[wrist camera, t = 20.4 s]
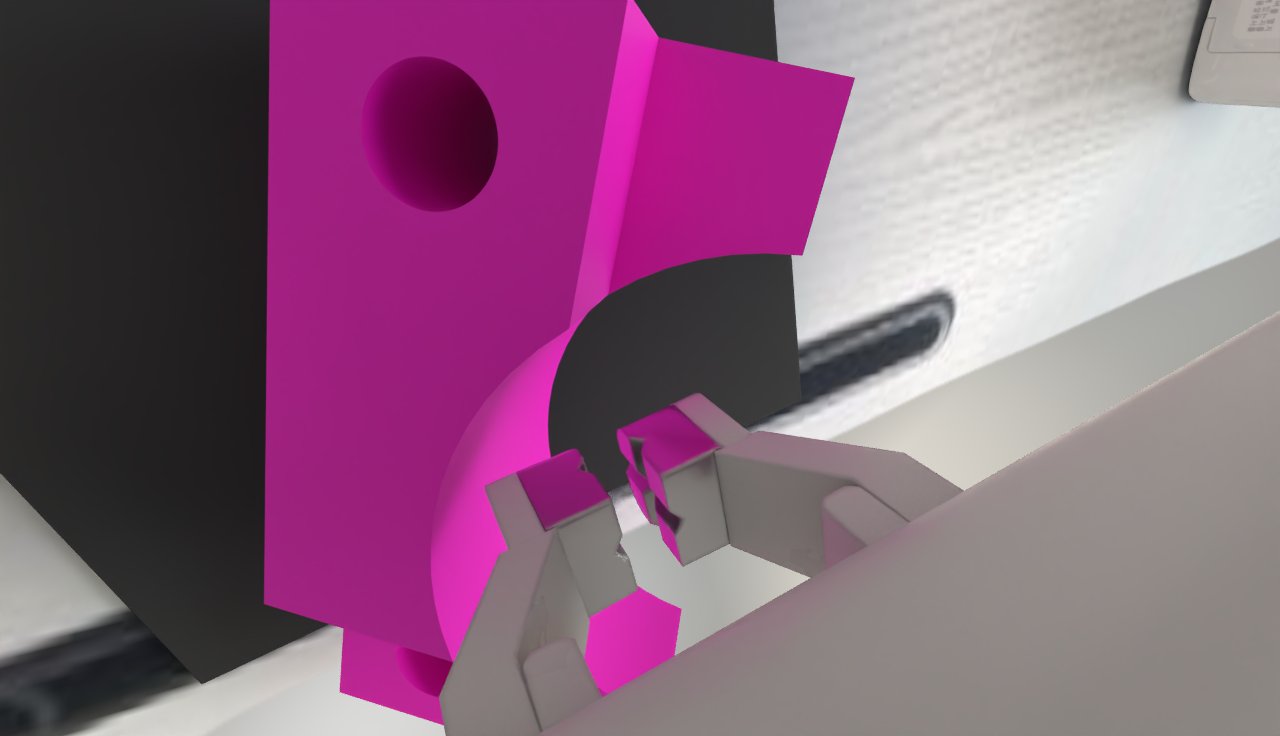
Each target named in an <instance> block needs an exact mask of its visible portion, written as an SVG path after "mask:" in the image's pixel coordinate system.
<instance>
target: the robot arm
mask: <svg viewBox="0 0 1280 736" xmlns="http://www.w3.org/2000/svg"><path fill="white" fill-rule="evenodd" d="M617 439H618V443H619V447H620V451H621V452H622V454H623V455H624V456H625V457H626V459H627V460H628V461H629V462H630V464H629V467H628V469H627V472H626V473H627V477H628V480H629V483H630V487H631V489H632V492H633V494H634V497H635V499H636V501H637V504H638V505H639V507H640V509H641V510H642V512H643V514H644V515H645V517H646V518H647V519H648V521H649V522H650V524H654V525H658V526H659V527H660V531H661V534H662V538H663V541H664V542H665V544H666V545H667V546H668V548H669V549H670V550H671V552H672V553H673V554H674V555H675V557H676V558H677V559H678V561H679V562H680V563H681V565H682V566H685V565H687V564H689V563H691V562H694V561H695V560H697V559H699V558H702V557H703V556H706V555H708V554H710V553H712V552H714V551H716V550H718V549H720V548H722V547H724V546H726V545H728V544H731V546H732V547H735V548H738V549H740V550H743V551H745V552H748V553H750V554H753V555H755V556H758V557H760V558H763V559H765V560H768V561H770V562H773V563H775V564H778V565H780V566H783V567H785V568H788V569H790V570H793V571H796V572H798V573H800V574H803V575H805V576H808V577H810V578H811V579H808V580H807V581H805V582H803V583H802V584H800V585H798V586H796V587H794V588H793V589H791V590H789V591H787V592H786V593H784V594H782V595H780V596H779V597H777V598H775V599H773V600H772V601H770V602H768V603H767V604H765V605H763V606H761V607H760V608H758V609H756V610H754V611H752V612H751V613H749V614H747V615H745V616H744V617H742V618H740V619H738V620H737V621H735V622H733V623H731V624H730V625H728V626H727V627H724V628H723V629H721V630H719V631H717V632H716V633H714V634H713V635H711V636H709V637H707V638H705V639H704V640H702V641H700V642H698V643H697V644H695V645H693V646H692V647H690V648H688V649H686V650H684V651H682V652H681V653H679V654H677V655H676V656H674V657H672V658H670V659H668V660H667V661H665V662H663V663H661V664H660V665H658V666H656V667H654V668H653V669H651V670H649V671H647V672H646V673H644V674H642V675H640V676H639V677H637V678H635V679H633V680H632V681H630V682H628V683H626V684H625V685H623V686H621V687H619V688H618V689H616V690H614V691H612V692H611V693H609V694H607V695H605V696H604V697H602V696H601V694H600V691H599V689H598V687H597V685H596V683H595V681H594V679H593V676H592V674H591V672H590V670H589V668H588V666H587V664H586V662H585V659H584V658H585V651H586V644H587V637H588V631H589V624H590V620H589V618H590V617H591V616H593V615H595V614H597V613H598V612H600V611H602V610H604V609H606V608H607V607H609V606H611V605H613V604H614V603H616V602H618V601H620V600H622V599H623V598H625V597H627V596H629V595H630V594H632V593H634V592H636V591H638V588H637V584H636V580H635V577H634V573H633V570H632V566H631V563H630V560H629V557H628V556H627V554H626V552H625V551H624V549H623V548H622V546H621V545H620V540H621V538H622V532H621V528H620V525H619V522H618V519H617V515H616V512H615V509H614V506H613V502H612V499H611V498H610V496H609V495H608V493H607V492H606V490H605V489H604V487H603V486H602V484H601V483H600V481H599V480H598V479H597V477H596V476H595V474H593V473H588V471H587V468H586V465H585V462H584V459H583V457H582V455H581V454H580V453H579V451H578V450H577V449H576V448H572V449H570V450H567V451H565V452H563V453H560V454H558V455H555V456H553V457H551V458H548V459H546V460H543V461H541V462H538V463H536V464H534V465H531V466H529V467H526V468H524V469H522V470H519V471H517V472H516V474H515V473H512V474H509V475H507V476H505V477H503V478H500V479H498V480H496V481H494V482H491V483H489V484H487V485H485V486H484V487H485V492H486V495H487V497H488V500H489V502H490V505H491V507H492V510H493V513H494V515H495V518H496V520H497V523H498V525H499V528H500V530H501V533H502V535H503V538H504V540H505V543H506V545H507V548H508V550H506V551H504V552H502V553H500V554H499V555H498V558H497V560H496V563H495V565H494V567H493V570H492V572H491V574H490V577H489V579H488V582H487V584H486V586H485V589H484V591H483V593H482V596H481V598H480V601H479V603H478V605H477V608H476V610H475V612H474V615H473V617H472V620H471V622H470V624H469V627H468V629H467V632H466V634H465V636H464V639H463V641H462V643H461V646H460V648H459V651H458V653H457V655H456V658H455V660H454V662H453V665H452V667H451V670H450V672H449V674H448V677H447V679H446V681H445V684H444V686H443V689H442V691H441V693H440V696H439V700H440V705H441V711H442V717H443V722H444V728H445V733H446V736H1280V311H1278V312H1277V313H1275V314H1273V315H1271V316H1270V317H1268V318H1266V319H1264V320H1263V321H1261V322H1259V323H1257V324H1256V325H1254V326H1252V327H1251V328H1249V329H1247V330H1245V331H1243V332H1242V333H1240V334H1238V335H1236V336H1235V337H1233V338H1231V339H1229V340H1228V341H1226V342H1224V343H1222V344H1221V345H1219V346H1217V347H1215V348H1214V349H1212V350H1210V351H1208V352H1207V353H1205V354H1203V355H1202V356H1200V357H1198V358H1196V359H1194V360H1193V361H1191V362H1189V363H1187V364H1186V365H1184V366H1182V367H1180V368H1179V369H1177V370H1175V371H1173V372H1172V373H1170V374H1168V375H1166V376H1164V377H1163V378H1161V379H1159V380H1158V381H1156V382H1154V383H1152V384H1150V385H1149V386H1147V387H1145V388H1143V389H1142V390H1140V391H1138V392H1137V393H1135V394H1133V395H1131V396H1129V397H1128V398H1126V399H1124V400H1123V401H1121V402H1119V403H1117V404H1116V405H1114V406H1112V407H1110V408H1108V409H1107V410H1105V411H1103V412H1101V413H1100V414H1098V415H1096V416H1094V417H1093V418H1091V419H1089V420H1087V421H1086V422H1084V423H1082V424H1080V425H1079V426H1077V427H1075V428H1073V429H1072V430H1070V431H1068V432H1067V433H1065V434H1063V435H1061V436H1059V437H1058V438H1056V439H1054V440H1052V441H1051V442H1049V443H1047V444H1045V445H1044V446H1042V447H1040V448H1038V449H1037V450H1035V451H1033V452H1031V453H1030V454H1028V455H1026V456H1024V457H1023V458H1021V459H1019V460H1018V461H1016V462H1014V463H1012V464H1010V465H1009V466H1007V467H1006V468H1004V469H1002V470H1000V471H998V472H997V473H995V474H993V475H991V476H990V477H988V478H986V479H984V480H983V481H981V482H979V483H977V484H976V485H974V486H972V487H971V488H969V489H967V490H965V491H963V490H962V489H960V488H959V487H957V486H955V485H954V484H952V483H951V482H949V481H948V480H946V479H944V478H943V477H941V476H940V475H938V474H937V473H935V472H933V471H932V470H930V469H929V468H927V467H926V466H924V465H922V464H921V463H919V462H918V461H916V460H914V459H913V458H911V457H910V456H908V455H907V454H905V453H902V452H895V451H888V450H882V449H875V448H869V447H863V446H856V445H849V444H843V443H836V442H830V441H823V440H817V439H810V438H804V437H797V436H791V435H784V434H778V433H771V432H765V431H758V432H756V433H753V434H751V433H750V432H748V431H747V430H746V429H745V428H743V427H742V426H741V425H740V424H738V423H737V422H736V421H735V420H733V419H732V418H731V417H730V416H728V415H727V414H726V413H725V412H723V411H722V410H721V409H720V408H718V407H717V406H716V405H715V404H713V403H712V402H711V401H710V400H708V399H707V398H706V397H705V396H703V395H702V394H701V393H694V394H692V395H690V396H687V397H685V398H683V399H681V400H679V401H677V402H675V403H673V404H671V405H670V406H668V407H666V408H664V409H661V410H659V411H657V412H655V413H653V414H650V415H648V416H646V417H644V418H642V419H639V420H637V421H635V422H633V423H631V424H629V425H626V426H624V427H622V428H620V429H618V430H617Z"/></svg>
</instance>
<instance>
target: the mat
mask: <svg viewBox="0 0 1280 736" xmlns="http://www.w3.org/2000/svg"><path fill="white" fill-rule="evenodd" d="M634 1H635V3H636V4H637V6H638V7H639V9H640V10H641V12H642V13H643V15H644V16H645V18H646V19H647V21H648V22H649V24H650V25H651V27H652V28H653V30H654V31H655V33H656V34H657V36H658V37H659V38H663V39H668V40H673V41H678V42H683V43H688V44H693V45H697V46H702V47H707V48H712V49H717V50H722V51H727V52H732V53H736V54H741V55H746V56H751V57H756V58H761V59H766V60H771V61H775V62H778V57H777V43H776V29H775V14H774V0H634ZM269 53H270V0H0V473H1V474H2V475H3V476H4V477H5V478H6V479H7V480H8V482H9V483H10V484H11V485H12V486H13V487H14V488H15V489H16V490H17V491H18V492H19V493H20V494H21V495H22V496H23V497H24V498H25V499H26V500H27V501H28V503H29V504H30V505H31V506H32V507H33V508H34V509H35V510H36V511H37V512H38V513H39V514H40V515H41V516H42V517H43V518H44V519H45V520H46V521H47V522H48V524H49V525H50V526H51V527H52V528H53V529H54V530H55V531H56V532H57V533H58V534H59V535H60V536H61V537H62V538H63V539H64V540H65V541H66V542H67V543H68V545H69V546H70V547H71V548H72V549H73V550H74V551H75V552H76V553H77V554H78V555H79V556H80V557H81V558H82V559H83V560H84V561H85V562H86V563H87V564H88V566H89V567H90V568H91V569H92V570H93V571H94V572H95V573H96V574H97V575H98V576H99V577H100V578H101V579H102V580H103V581H104V582H105V583H106V584H107V585H108V587H109V588H110V589H111V590H112V591H113V592H114V593H115V594H116V595H117V596H118V597H119V598H120V599H121V600H122V601H123V602H124V603H125V604H126V605H127V606H128V607H129V609H130V610H131V611H132V612H133V613H134V614H135V615H136V616H137V617H138V618H139V619H140V620H141V621H142V622H143V623H144V624H145V625H146V626H147V627H148V628H149V630H150V631H151V632H152V633H153V634H154V635H155V636H156V637H157V638H158V639H159V640H160V641H161V642H162V643H163V644H164V645H165V646H166V647H167V648H168V649H169V651H170V652H171V653H172V654H173V655H174V656H175V657H176V658H177V659H178V660H179V661H180V662H181V663H182V664H183V665H184V666H185V667H186V668H187V669H188V670H189V672H190V673H191V674H192V675H193V676H194V677H195V678H196V679H197V680H198V681H199V682H200V683H201V684H203V683H206V682H208V681H210V680H212V679H214V678H216V677H218V676H220V675H222V674H225V673H227V672H229V671H231V670H233V669H235V668H237V667H239V666H241V665H244V664H246V663H248V662H250V661H252V660H254V659H256V658H258V657H260V656H263V655H265V654H267V653H269V652H271V651H273V650H275V649H277V648H279V647H282V646H284V645H286V644H288V643H290V642H292V641H294V640H296V639H298V638H301V637H303V636H305V635H307V634H309V633H311V632H313V631H315V630H317V629H320V628H322V627H324V626H326V625H328V623H324V622H321V621H318V620H315V619H311V618H308V617H305V616H302V615H298V614H295V613H292V612H289V611H285V610H282V609H279V608H276V607H273V606H269V605H266V604H264V562H265V460H266V359H267V257H268V155H269ZM694 393H701V394H702V395H703V396H705V397H706V398H707V399H708V400H710V401H711V402H712V403H713V404H715V405H716V406H717V407H718V408H720V409H721V410H722V411H723V412H725V413H726V414H727V415H728V416H730V417H731V418H732V419H733V420H735V421H736V422H737V423H738V424H740V425H741V426H742V427H743V428H744V427H746V426H748V425H750V424H752V423H754V422H756V421H759V420H761V419H763V418H765V417H767V416H769V415H771V414H773V413H775V412H778V411H780V410H782V409H784V408H786V407H788V406H790V405H792V404H794V403H797V402H799V401H801V386H800V372H799V358H798V343H797V329H796V315H795V301H794V286H793V272H792V258H791V255H787V254H771V253H761V254H737V255H727V256H721V257H714V258H707V259H701V260H696V261H692V262H689V263H685V264H681V265H677V266H673V267H670V268H666V269H663V270H661V271H658V272H656V273H653V274H651V275H648V276H645V277H643V278H640V279H638V280H635V281H633V282H631V283H630V284H628V285H626V286H624V287H622V288H620V289H618V290H616V291H614V292H612V293H610V294H608V295H607V296H606V297H605V298H604V299H603V300H601V301H600V302H599V303H598V304H597V305H596V306H595V307H593V308H592V309H591V310H590V311H589V312H588V313H587V314H586V316H585V317H584V319H583V320H582V321H581V323H580V324H579V325H578V327H577V328H576V330H575V332H574V334H573V335H572V337H571V339H570V341H569V342H568V344H567V346H566V348H565V351H564V353H563V355H562V358H561V360H560V362H559V365H558V368H557V371H556V375H555V378H554V381H553V385H552V390H551V396H550V402H549V413H548V439H549V449H550V455H551V457H553V456H555V455H558V454H560V453H563V452H565V451H567V450H570V449H572V448H576V449H577V450H578V451H579V453H580V454H581V455H582V457H583V459H584V462H585V465H586V468H587V471H588V473H593V474H595V476H596V477H597V479H598V480H599V481H600V483H601V484H602V486H603V487H604V489H605V490H606V492H609V491H611V490H613V489H615V488H617V487H619V486H621V485H623V484H626V483H628V482H629V480H628V477H627V473H626V472H627V469H628V467H629V464H630V462H629V461H628V460H627V459H626V457H625V456H624V455H623V454H622V452H621V451H620V447H619V443H618V439H617V430H618V429H620V428H622V427H624V426H626V425H629V424H631V423H633V422H635V421H637V420H639V419H642V418H644V417H646V416H648V415H650V414H653V413H655V412H657V411H659V410H661V409H664V408H666V407H668V406H670V405H671V404H673V403H675V402H677V401H679V400H681V399H683V398H685V397H687V396H690V395H692V394H694Z"/></svg>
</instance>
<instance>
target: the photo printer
mask: <svg viewBox="0 0 1280 736" xmlns="http://www.w3.org/2000/svg"><path fill="white" fill-rule="evenodd" d="M1189 95H1190V96H1191V97H1192V98H1193V99H1194V100H1196V101H1198V102H1201V103H1211V104H1227V105H1244V106H1261V107H1278V108H1280V0H1212V3H1211V6H1210V9H1209V12H1208V16H1207V19H1206V21H1205V24H1204V27H1203V31H1202V35H1201V38H1200V42H1199V46H1198V49H1197V53H1196V57H1195V61H1194V65H1193V69H1192V73H1191V78H1190V83H1189Z"/></svg>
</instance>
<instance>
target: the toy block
mask: <svg viewBox="0 0 1280 736" xmlns="http://www.w3.org/2000/svg"><path fill="white" fill-rule="evenodd" d="M854 79H855V78H853V77H849V76H844V75H839V74H834V73H829V72H824V71H819V70H814V69H810V68H805V67H800V66H795V65H790V64H785V63H780V62H775V61H771V60H766V59H761V58H756V57H751V56H746V55H741V54H736V53H732V52H727V51H722V50H717V49H712V48H707V47H702V46H697V45H693V44H688V43H683V42H678V41H673V40H668V39H663V38H659V37H658V36H657V34H656V33H655V31H654V30H653V28H652V27H651V25H650V24H649V22H648V21H647V19H646V18H645V16H644V15H643V13H642V12H641V10H640V9H639V7H638V6H637V4H636V3H635V1H634V0H270V53H269V155H268V257H267V359H266V460H265V562H264V604H266V605H269V606H273V607H276V608H279V609H282V610H285V611H289V612H292V613H295V614H298V615H302V616H305V617H308V618H311V619H315V620H318V621H321V622H324V623H328V624H331V625H334V626H337V627H341V628H344V631H343V647H342V663H341V679H340V692H341V693H345V694H347V695H350V696H354V697H357V698H360V699H363V700H366V701H369V702H372V703H376V704H379V705H382V706H385V707H388V708H391V709H394V710H398V711H401V712H404V713H407V714H410V715H413V716H416V717H419V718H423V719H426V720H429V721H432V722H435V723H438V724H441V725H444V722H443V717H442V711H441V705H440V700H439V696H440V693H441V691H442V689H443V686H444V684H445V681H446V679H447V677H448V674H449V672H450V670H451V667H452V665H453V662H454V660H455V658H456V655H457V653H458V651H459V648H460V646H461V643H462V641H463V639H464V636H465V634H466V632H467V629H468V627H469V624H470V622H471V620H472V617H473V615H474V612H475V610H476V608H477V605H478V603H479V601H480V598H481V596H482V593H483V591H484V589H485V586H486V584H487V582H488V579H489V577H490V574H491V572H492V570H493V567H494V565H495V563H496V560H497V558H498V555H499V554H500V553H502V552H504V551H506V550H508V548H507V545H506V543H505V540H504V538H503V535H502V533H501V530H500V528H499V525H498V523H497V520H496V518H495V515H494V513H493V510H492V507H491V505H490V502H489V500H488V497H487V495H486V492H485V487H484V486H485V485H487V484H489V483H491V482H494V481H496V480H498V479H500V478H503V477H505V476H507V475H509V474H512V473H515V474H516V472H517V471H519V470H522V469H524V468H526V467H529V466H531V465H534V464H536V463H538V462H541V461H543V460H546V459H548V458H551V455H550V449H549V439H548V413H549V402H550V396H551V390H552V385H553V381H554V378H555V375H556V371H557V368H558V365H559V362H560V360H561V358H562V355H563V353H564V351H565V348H566V346H567V344H568V342H569V341H570V339H571V337H572V335H573V334H574V332H575V330H576V328H577V327H578V325H579V324H580V323H581V321H582V320H583V319H584V317H585V316H586V314H587V313H588V312H589V311H590V310H591V309H592V308H593V307H595V306H596V305H597V304H598V303H599V302H600V301H601V300H603V299H604V298H605V297H606V296H607V295H608V294H610V293H612V292H614V291H616V290H618V289H620V288H622V287H624V286H626V285H628V284H630V283H631V282H633V281H635V280H638V279H640V278H643V277H645V276H648V275H651V274H653V273H656V272H658V271H661V270H663V269H666V268H670V267H673V266H677V265H681V264H685V263H689V262H692V261H696V260H701V259H707V258H714V257H721V256H727V255H737V254H761V253H771V254H787V255H803V252H804V248H805V245H806V241H807V238H808V235H809V231H810V228H811V225H812V221H813V218H814V214H815V211H816V208H817V204H818V201H819V197H820V194H821V191H822V187H823V184H824V181H825V177H826V174H827V170H828V167H829V164H830V160H831V157H832V154H833V150H834V147H835V143H836V140H837V137H838V133H839V130H840V126H841V123H842V120H843V116H844V113H845V110H846V106H847V103H848V99H849V96H850V93H851V89H852V86H853V82H854ZM637 588H638V591H636V592H634V593H632V594H630V595H629V596H627V597H625V598H623V599H622V600H620V601H618V602H616V603H614V604H613V605H611V606H609V607H607V608H606V609H604V610H602V611H600V612H598V613H597V614H595V615H593V616H591V617H590V618H589V620H590V624H589V631H588V637H587V644H586V651H585V658H584V659H585V662H586V664H587V666H588V668H589V670H590V672H591V674H592V676H593V679H594V681H595V683H596V685H597V687H598V689H599V691H600V694H601V696H602V697H604V696H605V695H607V694H609V693H611V692H612V691H614V690H616V689H618V688H619V687H621V686H623V685H625V684H626V683H628V682H630V681H632V680H633V679H635V678H637V677H639V676H640V675H642V674H644V673H646V672H647V671H649V670H651V669H653V668H654V667H656V666H658V665H660V664H661V663H663V662H665V661H667V660H668V659H670V658H672V657H674V654H675V648H676V641H677V635H678V628H679V622H680V615H681V609H680V608H678V607H676V606H674V605H671V604H669V603H667V602H665V601H663V600H661V599H659V598H657V597H655V596H654V595H652V594H650V593H648V592H646V591H645V590H643V589H642V588H640V587H638V586H637Z"/></svg>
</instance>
